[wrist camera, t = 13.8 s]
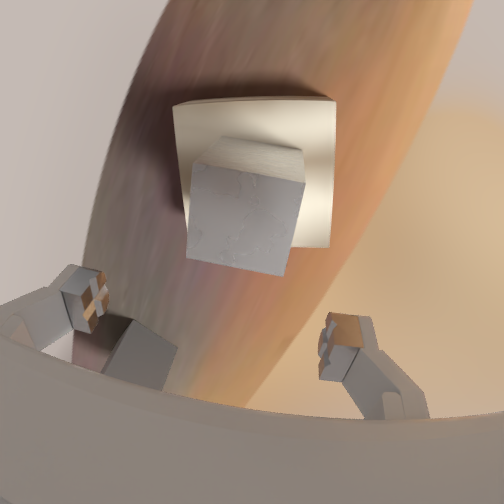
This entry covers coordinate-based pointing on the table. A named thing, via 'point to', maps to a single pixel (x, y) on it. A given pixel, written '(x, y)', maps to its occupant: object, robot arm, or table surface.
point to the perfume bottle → (140, 358)
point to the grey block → (245, 204)
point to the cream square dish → (273, 132)
